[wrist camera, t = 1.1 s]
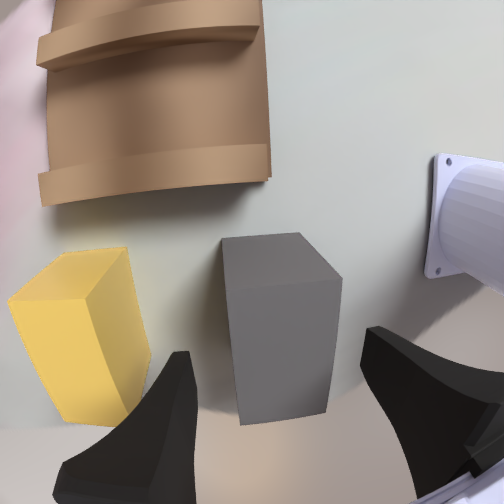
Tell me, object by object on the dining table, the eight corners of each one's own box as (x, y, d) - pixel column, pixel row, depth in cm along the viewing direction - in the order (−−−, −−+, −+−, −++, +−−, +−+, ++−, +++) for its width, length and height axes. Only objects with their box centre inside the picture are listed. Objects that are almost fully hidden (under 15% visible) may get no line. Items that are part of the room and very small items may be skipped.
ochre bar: (64, 252, 15) (6, 301, 9) (127, 246, 15) (85, 298, 9) (94, 354, 17) (64, 421, 11) (151, 354, 17) (134, 428, 12)
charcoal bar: (221, 237, 15) (225, 290, 10) (298, 232, 16) (342, 278, 10) (231, 349, 18) (240, 425, 12) (296, 342, 18) (325, 412, 13)
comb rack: (253, -63, 10) (260, -90, 7) (268, 175, 15) (280, 181, 12) (70, -34, 9) (52, -53, 6) (60, 198, 14) (34, 209, 11)
